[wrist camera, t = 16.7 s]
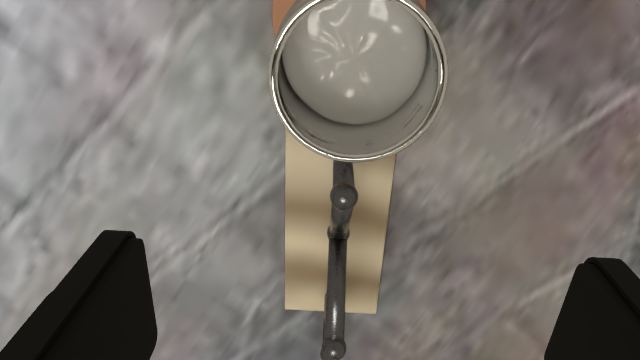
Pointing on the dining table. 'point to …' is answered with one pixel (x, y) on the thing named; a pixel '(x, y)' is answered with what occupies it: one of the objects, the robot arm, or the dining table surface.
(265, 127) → the dining table surface
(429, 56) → the beer glass
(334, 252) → the bent wire
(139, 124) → the dining table surface
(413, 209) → the dining table surface
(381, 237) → the wire board
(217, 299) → the dining table surface
